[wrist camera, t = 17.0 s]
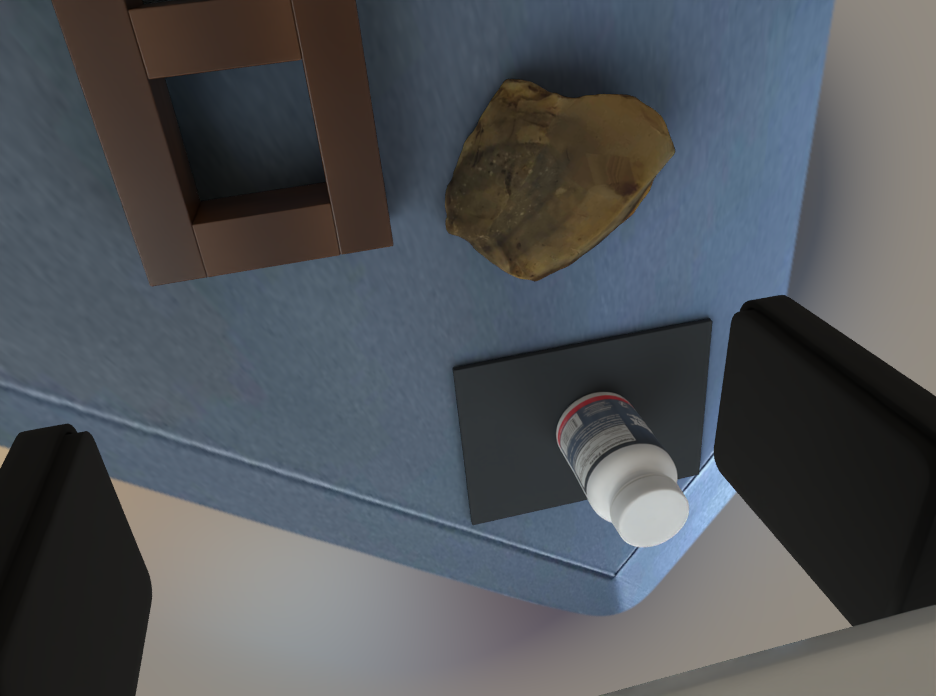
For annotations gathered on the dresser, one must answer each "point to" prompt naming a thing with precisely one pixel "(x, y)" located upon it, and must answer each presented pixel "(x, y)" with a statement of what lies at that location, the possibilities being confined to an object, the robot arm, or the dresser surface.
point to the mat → (553, 390)
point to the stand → (161, 145)
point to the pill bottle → (622, 468)
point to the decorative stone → (552, 175)
